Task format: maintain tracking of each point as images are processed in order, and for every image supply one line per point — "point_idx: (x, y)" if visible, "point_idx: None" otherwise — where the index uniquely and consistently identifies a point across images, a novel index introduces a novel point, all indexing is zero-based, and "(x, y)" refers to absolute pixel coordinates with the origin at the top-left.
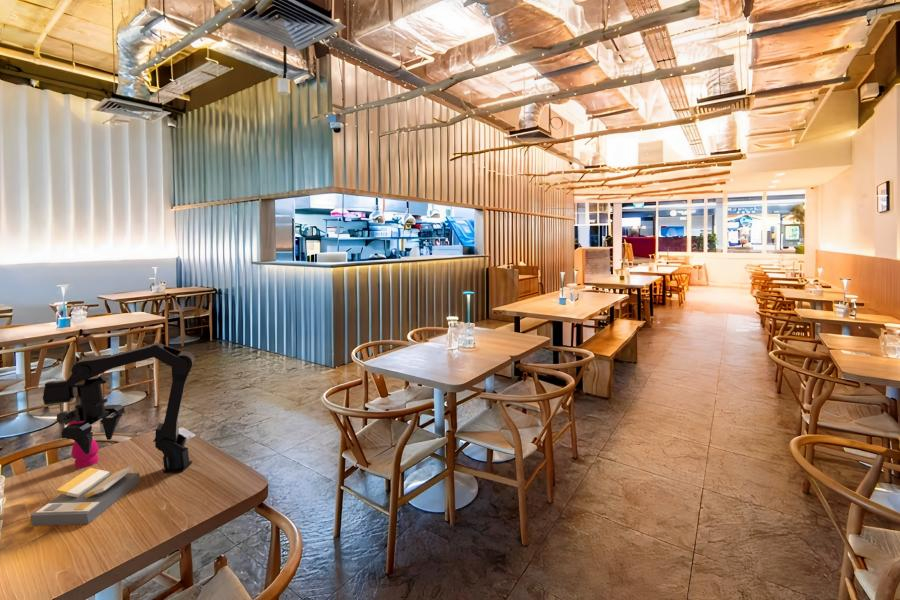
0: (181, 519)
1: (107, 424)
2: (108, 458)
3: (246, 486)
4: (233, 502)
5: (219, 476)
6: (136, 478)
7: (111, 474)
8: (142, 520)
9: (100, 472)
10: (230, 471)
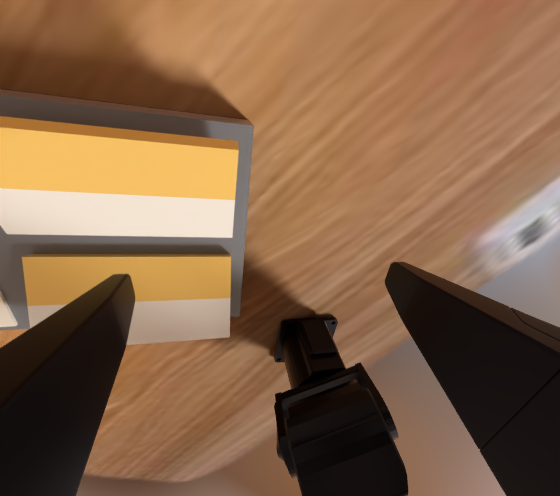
0: None
1: (527, 401)
2: (489, 37)
3: (197, 465)
4: (141, 475)
5: (241, 422)
6: None
7: (239, 229)
8: None
9: (215, 213)
10: (260, 426)
